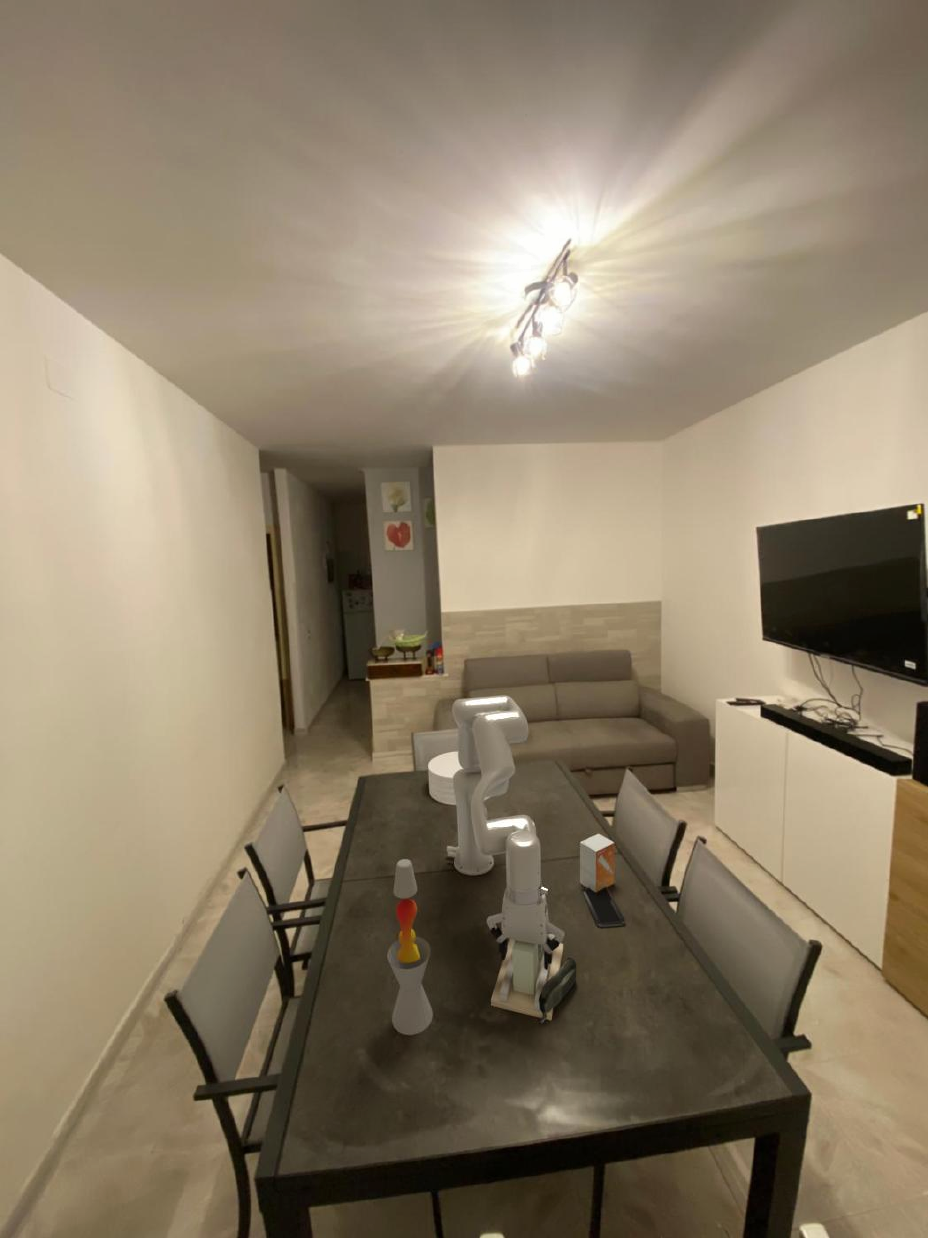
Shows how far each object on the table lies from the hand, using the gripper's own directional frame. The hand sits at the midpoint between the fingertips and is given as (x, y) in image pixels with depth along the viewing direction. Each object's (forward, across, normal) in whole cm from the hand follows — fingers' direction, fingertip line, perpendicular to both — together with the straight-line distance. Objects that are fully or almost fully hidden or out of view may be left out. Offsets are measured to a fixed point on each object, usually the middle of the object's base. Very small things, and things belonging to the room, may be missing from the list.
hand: (525, 960), depth 113 cm
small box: (+7, -13, -41) cm, 44 cm away
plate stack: (+8, +45, -90) cm, 101 cm away
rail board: (+7, 0, -3) cm, 7 cm away
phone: (+7, -15, -31) cm, 36 cm away
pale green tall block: (+5, 0, 0) cm, 5 cm away
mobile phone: (+7, -7, +1) cm, 10 cm away
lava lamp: (+7, +22, +14) cm, 27 cm away
